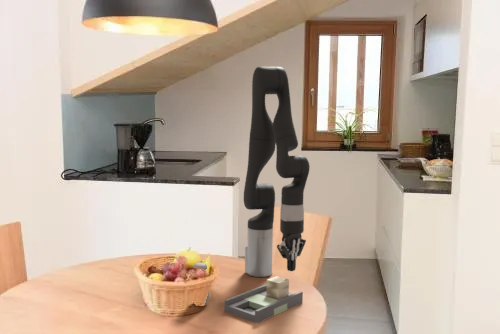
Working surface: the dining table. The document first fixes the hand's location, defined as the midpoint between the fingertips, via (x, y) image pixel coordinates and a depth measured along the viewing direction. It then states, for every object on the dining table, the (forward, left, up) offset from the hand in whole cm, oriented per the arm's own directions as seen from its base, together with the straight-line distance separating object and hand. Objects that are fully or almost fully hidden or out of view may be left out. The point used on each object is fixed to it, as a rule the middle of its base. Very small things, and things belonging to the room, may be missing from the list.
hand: (291, 270), depth 176 cm
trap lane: (0, -13, -9) cm, 16 cm away
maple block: (0, -7, -7) cm, 9 cm away
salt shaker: (-16, -25, -9) cm, 31 cm away
